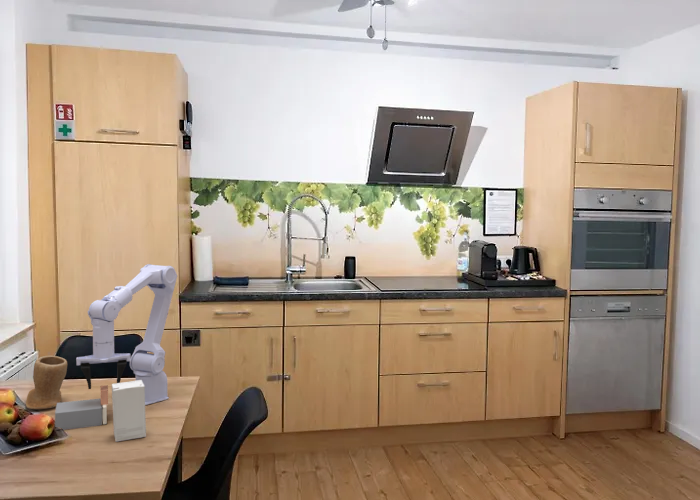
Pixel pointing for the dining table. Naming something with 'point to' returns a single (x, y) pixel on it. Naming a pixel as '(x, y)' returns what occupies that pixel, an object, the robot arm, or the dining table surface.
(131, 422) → the skincare box
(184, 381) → the dining table surface
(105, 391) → the white pull-out drawer
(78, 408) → the carton
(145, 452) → the dining table surface
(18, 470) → the dining table surface
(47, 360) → the stone cup
